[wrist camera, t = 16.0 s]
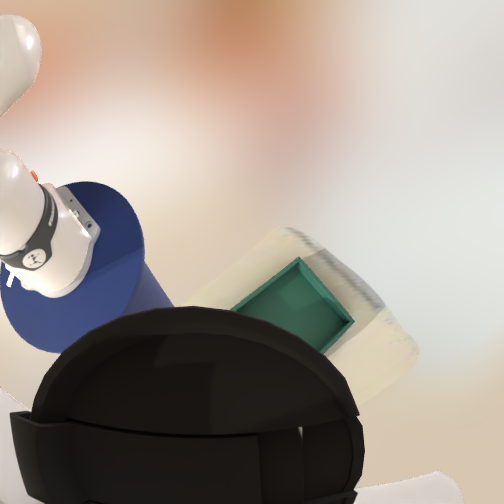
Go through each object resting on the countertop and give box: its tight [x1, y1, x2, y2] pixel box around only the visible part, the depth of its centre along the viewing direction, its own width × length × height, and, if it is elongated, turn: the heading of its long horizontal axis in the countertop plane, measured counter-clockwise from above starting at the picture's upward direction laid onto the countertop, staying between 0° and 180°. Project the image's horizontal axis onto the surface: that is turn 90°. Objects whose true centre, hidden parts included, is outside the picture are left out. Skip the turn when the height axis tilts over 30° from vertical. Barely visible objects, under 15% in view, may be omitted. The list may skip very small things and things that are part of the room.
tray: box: [230, 257, 355, 354], centre depth 37 cm, size 13×13×2 cm
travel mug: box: [9, 306, 365, 504], centre depth 11 cm, size 6×7×20 cm
